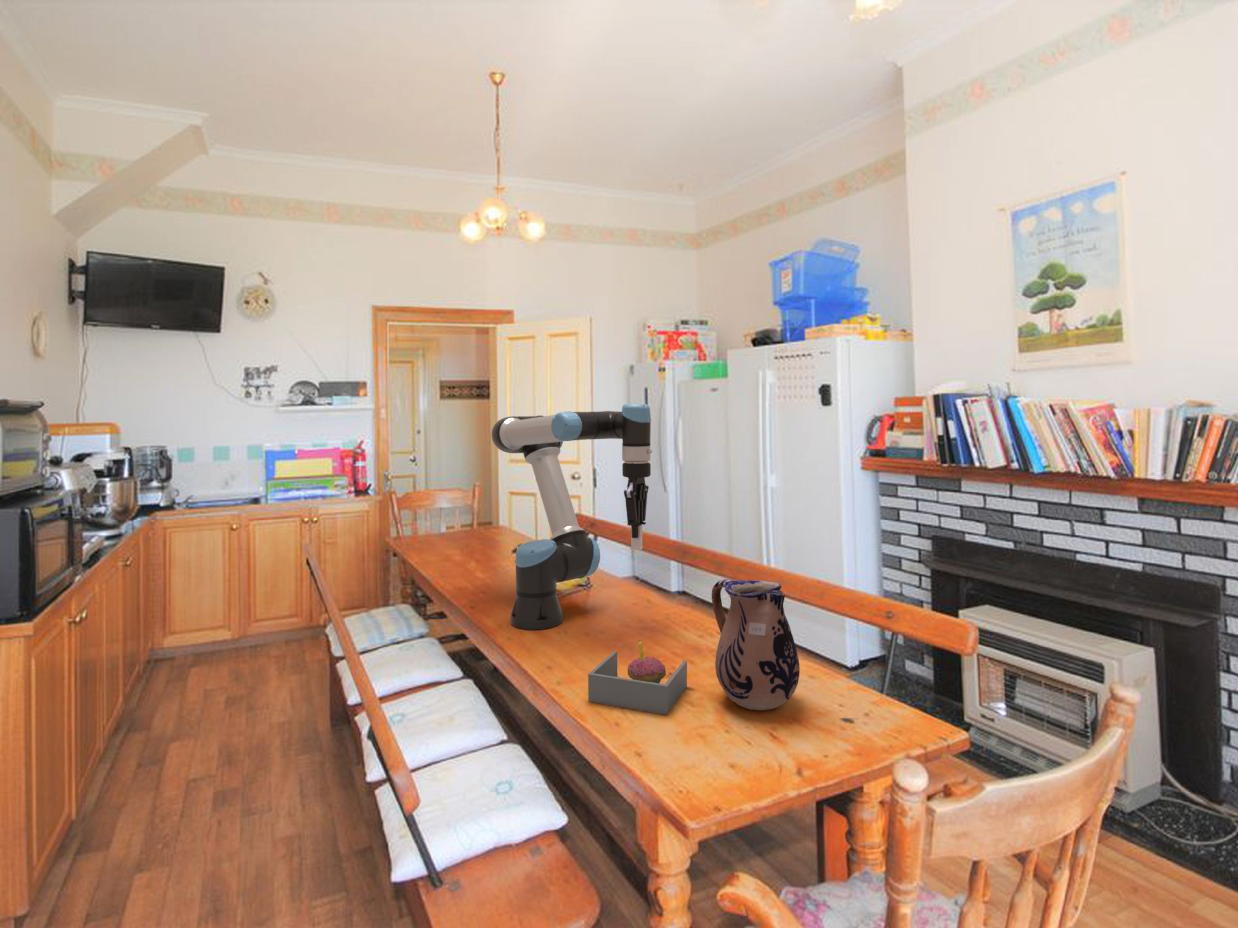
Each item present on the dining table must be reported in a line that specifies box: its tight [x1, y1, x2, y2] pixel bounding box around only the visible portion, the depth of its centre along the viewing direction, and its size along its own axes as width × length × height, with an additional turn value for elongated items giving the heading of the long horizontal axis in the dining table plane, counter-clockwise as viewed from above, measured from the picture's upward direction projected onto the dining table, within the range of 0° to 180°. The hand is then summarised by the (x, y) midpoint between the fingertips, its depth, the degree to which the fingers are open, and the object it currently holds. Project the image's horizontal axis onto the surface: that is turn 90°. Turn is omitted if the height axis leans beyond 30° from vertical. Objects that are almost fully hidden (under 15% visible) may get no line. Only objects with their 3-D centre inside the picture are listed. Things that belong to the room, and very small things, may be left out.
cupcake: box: [627, 639, 667, 684], centre depth 149 cm, size 9×8×12 cm
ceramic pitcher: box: [711, 578, 801, 711], centre depth 143 cm, size 18×21×25 cm
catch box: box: [587, 650, 688, 716], centre depth 147 cm, size 18×15×6 cm
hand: (636, 549), depth 182 cm, fingers closed
